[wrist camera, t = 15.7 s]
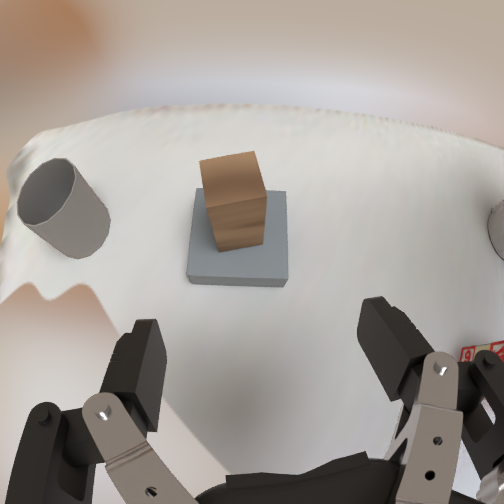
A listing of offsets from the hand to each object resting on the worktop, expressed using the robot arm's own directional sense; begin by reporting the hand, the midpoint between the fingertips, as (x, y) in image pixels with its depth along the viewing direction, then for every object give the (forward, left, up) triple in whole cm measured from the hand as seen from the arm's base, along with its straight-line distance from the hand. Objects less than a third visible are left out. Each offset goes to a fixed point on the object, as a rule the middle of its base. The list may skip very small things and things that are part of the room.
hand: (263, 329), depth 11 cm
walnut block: (-11, -5, -16) cm, 20 cm away
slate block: (-11, -5, -21) cm, 24 cm away
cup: (-6, -25, -20) cm, 33 cm away
